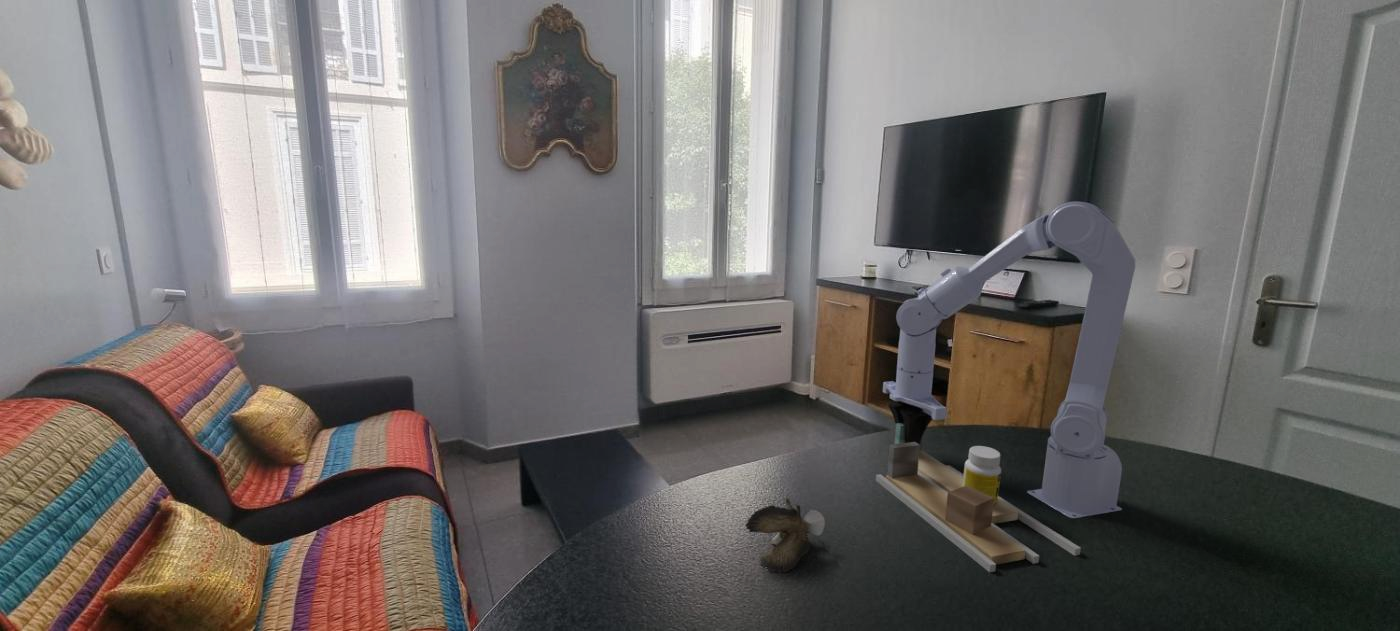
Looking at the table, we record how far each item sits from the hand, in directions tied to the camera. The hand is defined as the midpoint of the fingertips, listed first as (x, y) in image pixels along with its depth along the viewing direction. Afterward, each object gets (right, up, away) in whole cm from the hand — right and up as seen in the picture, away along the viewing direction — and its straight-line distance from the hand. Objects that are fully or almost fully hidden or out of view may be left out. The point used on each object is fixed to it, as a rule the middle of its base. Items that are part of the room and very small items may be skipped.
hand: (908, 445), depth 98 cm
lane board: (+2, -6, -17) cm, 18 cm away
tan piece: (+3, -4, -9) cm, 11 cm away
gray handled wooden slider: (-1, -6, -18) cm, 19 cm away
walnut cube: (0, -5, -22) cm, 23 cm away
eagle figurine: (-25, -8, -26) cm, 37 cm away
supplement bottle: (+5, -5, -15) cm, 17 cm away
